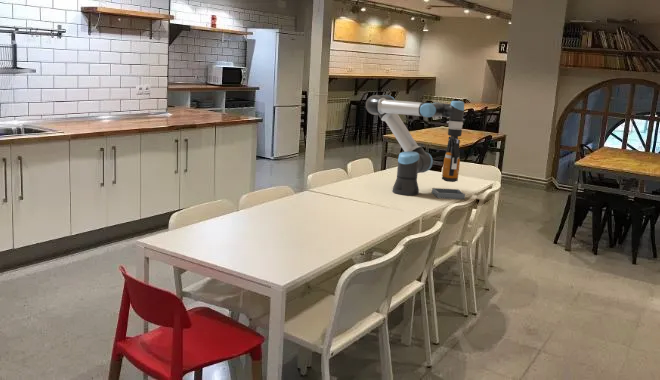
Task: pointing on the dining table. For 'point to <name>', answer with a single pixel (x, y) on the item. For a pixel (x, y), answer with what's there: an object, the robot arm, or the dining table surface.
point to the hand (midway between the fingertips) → (451, 167)
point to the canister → (449, 173)
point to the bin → (448, 193)
